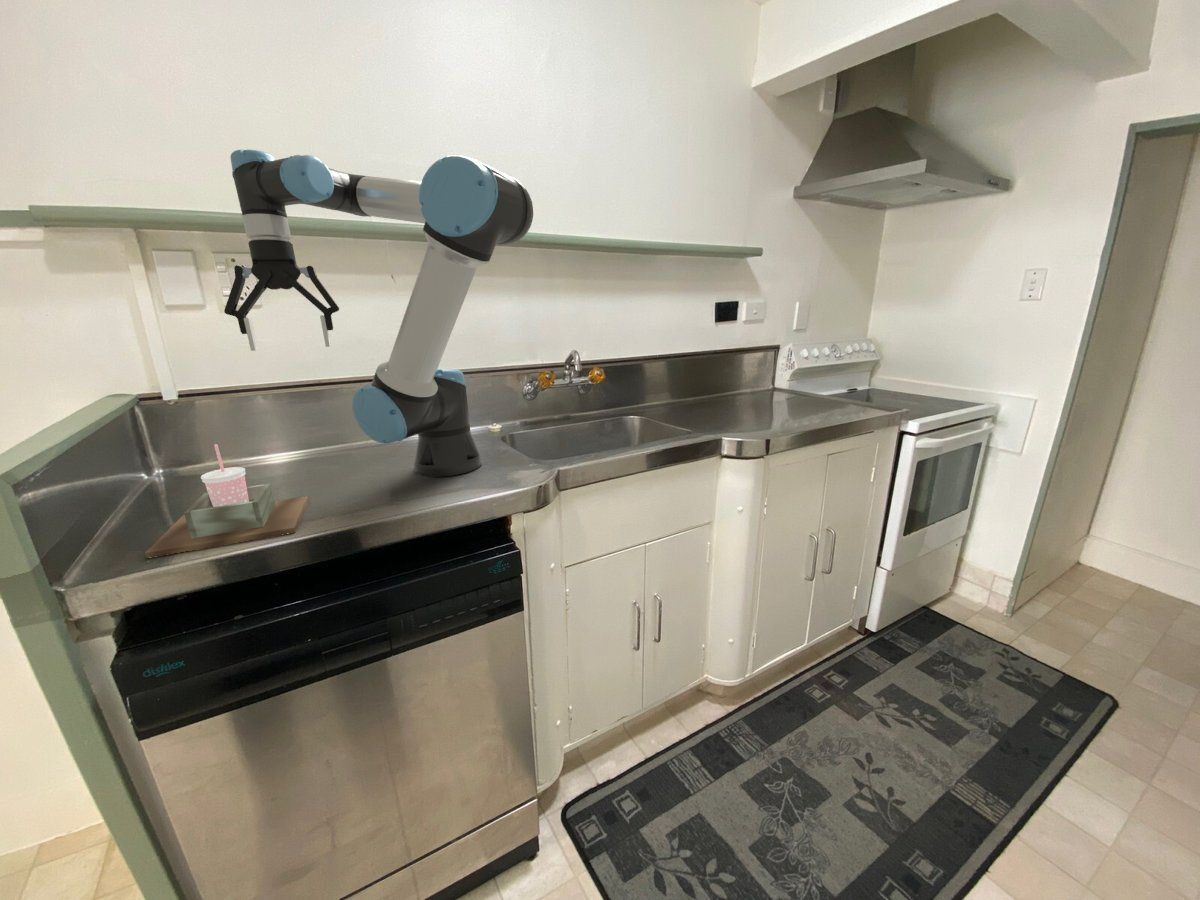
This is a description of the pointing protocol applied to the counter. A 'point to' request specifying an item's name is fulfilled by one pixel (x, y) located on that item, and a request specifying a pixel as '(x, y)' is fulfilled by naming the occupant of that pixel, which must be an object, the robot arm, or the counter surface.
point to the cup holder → (231, 522)
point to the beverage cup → (226, 484)
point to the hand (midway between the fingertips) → (292, 348)
